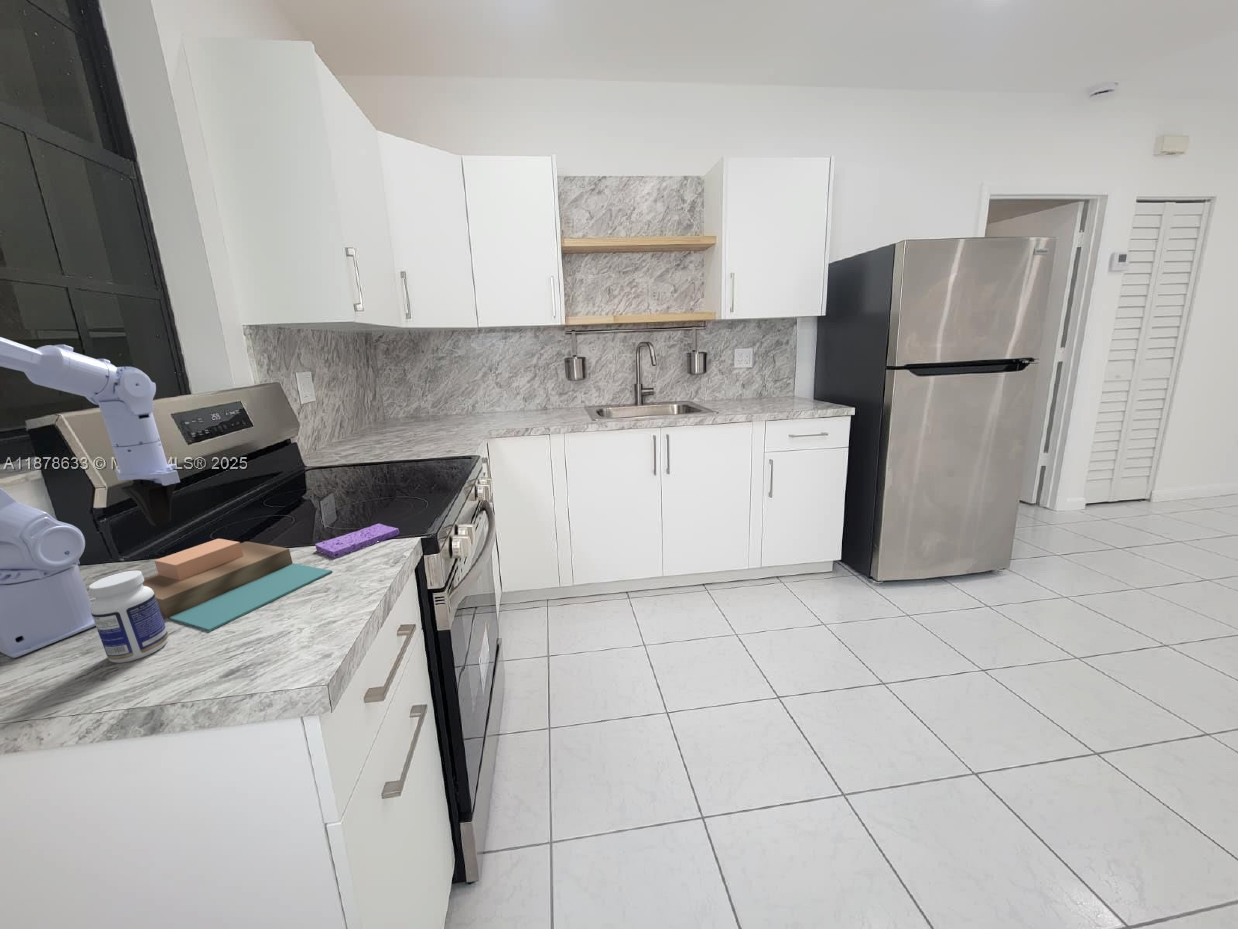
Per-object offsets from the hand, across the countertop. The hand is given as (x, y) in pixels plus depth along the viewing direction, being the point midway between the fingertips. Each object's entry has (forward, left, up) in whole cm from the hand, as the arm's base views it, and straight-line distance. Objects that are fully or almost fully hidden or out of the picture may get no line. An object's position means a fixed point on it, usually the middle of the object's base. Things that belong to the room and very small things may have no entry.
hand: (161, 523), depth 83 cm
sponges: (+20, -20, -10) cm, 30 cm away
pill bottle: (-15, -23, -10) cm, 29 cm away
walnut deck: (0, -11, -9) cm, 14 cm away
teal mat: (0, -22, -9) cm, 24 cm away
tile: (0, -9, -5) cm, 10 cm away
